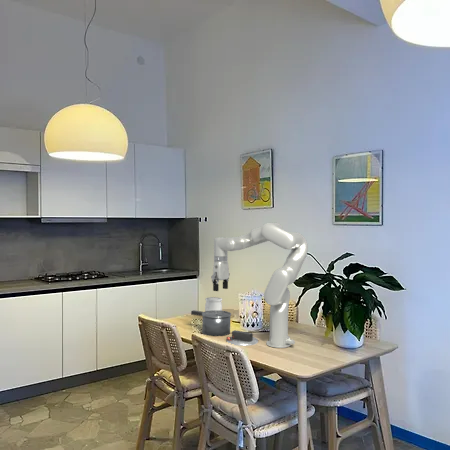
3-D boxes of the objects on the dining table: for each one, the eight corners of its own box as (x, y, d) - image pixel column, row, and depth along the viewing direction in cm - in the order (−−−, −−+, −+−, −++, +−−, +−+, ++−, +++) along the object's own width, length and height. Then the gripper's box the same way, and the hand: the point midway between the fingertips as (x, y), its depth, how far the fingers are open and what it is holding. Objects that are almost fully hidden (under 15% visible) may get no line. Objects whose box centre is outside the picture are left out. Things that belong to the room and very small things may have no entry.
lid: (263, 340, 243) (263, 331, 243) (248, 348, 228) (248, 338, 228) (236, 336, 252) (236, 326, 252) (220, 343, 237) (220, 333, 237)
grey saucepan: (236, 331, 260) (236, 312, 260) (220, 338, 245) (221, 318, 245) (200, 325, 273) (200, 307, 273) (183, 331, 259) (183, 312, 259)
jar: (222, 320, 287) (223, 297, 286) (220, 324, 276) (221, 300, 276) (206, 319, 288) (206, 296, 287) (203, 323, 277) (204, 299, 277)
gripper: (217, 260, 241) (217, 292, 241) (234, 258, 256) (234, 288, 256) (206, 260, 245) (206, 291, 245) (223, 257, 260) (223, 287, 260)
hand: (220, 289), depth 251 cm, fingers open, 9 cm apart
